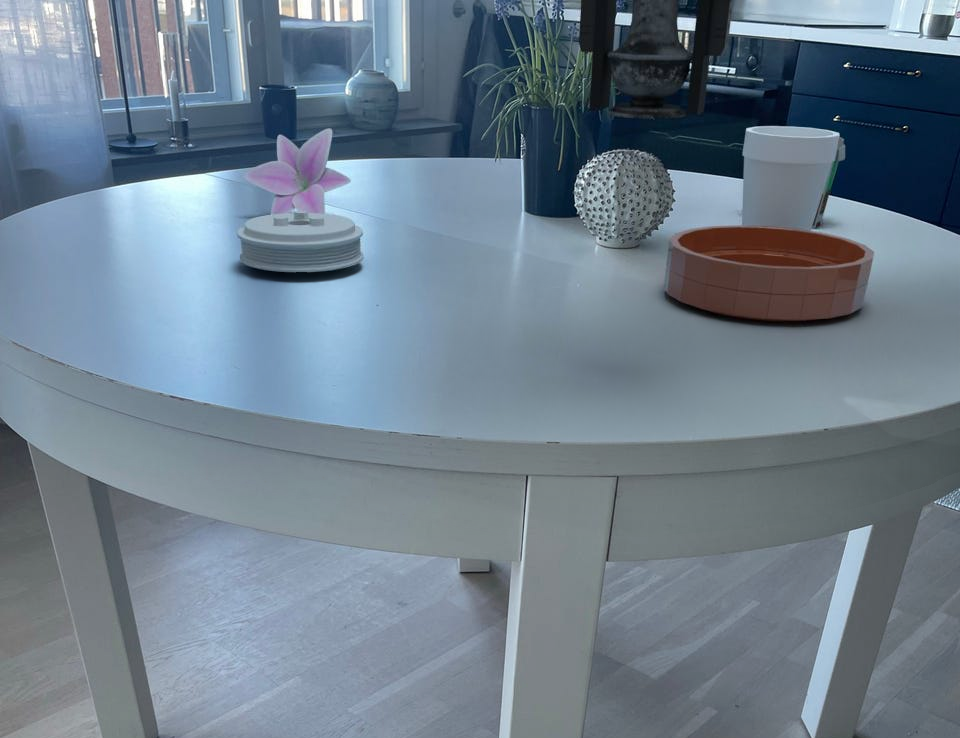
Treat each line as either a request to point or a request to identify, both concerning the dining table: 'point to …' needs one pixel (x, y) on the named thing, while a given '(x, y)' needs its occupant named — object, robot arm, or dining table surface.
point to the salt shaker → (650, 62)
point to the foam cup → (785, 174)
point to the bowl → (767, 272)
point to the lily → (299, 175)
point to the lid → (300, 242)
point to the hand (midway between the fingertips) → (646, 109)
